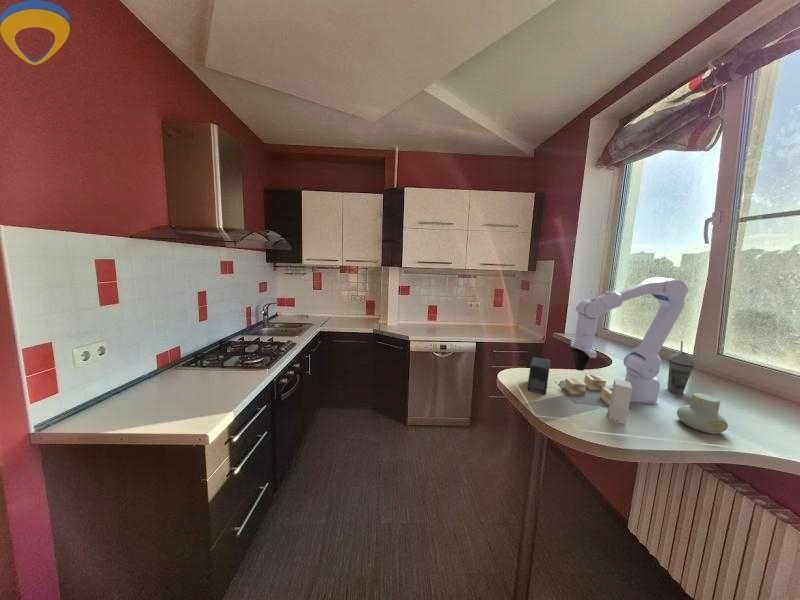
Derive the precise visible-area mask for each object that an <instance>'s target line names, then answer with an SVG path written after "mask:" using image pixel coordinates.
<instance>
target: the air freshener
mask: <svg viewBox="0 0 800 600" xmlns="http://www.w3.org/2000/svg"><path fill="white" fill-rule="evenodd" d="M720 406H721V401H720V400H719V399H718V398H716V397H714V396H712V395H708V394H706V393H701V392H700V393H699V392H694V393H692V396H691V400H690V404H685V405H682V406H679V407H678V408H677V410H676V415H677V418H678V419H679V420H680V421H681V422H682V423H683V424H684V425H686V426H688V427H689V428H691V429H693V430H696V431H699V432H701V433H705V434H714V435H715V434H721V433H723V432H725V431H727V430H728V427H729V425H728V422H727V420H726V419H725V418H724V416H722V415H721V414H720V413H719V410H720Z"/></svg>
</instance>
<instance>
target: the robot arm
mask: <svg viewBox="0 0 800 600" xmlns="http://www.w3.org/2000/svg"><path fill="white" fill-rule="evenodd" d="M685 282H686V281H684V280H682V279H680V278H668V277H661V276H654V277H651V278H647V279H645V280H643V281H641V282H639V283H638V284H635V285H632V286H630V287H628V288H626V289H623V290H620V291H619V292H616V291H613V290H612V291H610V290H607V291H604V293H603V294H601V295H599V296H593V297H591V298H590V300H589V299H584V300H581V301H579V303H578V304H577V306H576V307H575V309H576V312H577V313H578V314H577V315H578V317H577V323H576V328H575V329H576V330H575V335H574V336H575V337H574V339H570V347H572V349H571V353H572V355H573V359H574V367H575V370H576V371H583V372H584V369H585V368H586V366H587V364H588V363H589V360H590V359H592V358H593V359H596V358H597V354H598V353H597V351H595V348H594V341H595V335H596V334H595V333H596V329H597V323H598V318H600V317H601V316H602V315H603V314H604V313H606V312H609V311H611V310H614V309H617V308H620V307H621V306H622V304H623V302H626V301H629V300H631V299H635V298H638V297H641V296H644V295H651V296H652V297H654V298H655V300H656V301H657V302H658V304H659V306H660V307H659V309H658V311H657V312H656V314H655V316H654V318H653V319H652V322H651V324H650V325H649V328H648V329H647V331H646V333H645V334H644V336H643V339H642V341H641V342H640V343H639V345H638V346H636V347H633V348H632V349H631V351H630V352H629V353H627V354H626V355H625V356H624V358H623V364H624V367H625V370H626V372H625V377H624V381H628V382H630V383H631V386H632V388H633V389H632V394H631V399H630V402H636V403H645V404H656V405H659V402H658V398H659V393H660V390H661V389H660V388H661V384H660V380H659V378H657V377H656V376H658V375H659V373H660V366H661V364H662V359H661V357H660V355H659V353H660V351H661V349H662V347H663V345H664V343H665V342H666V340H667V338H668V336H670V335H669V334H670V332H671V331H672V329H673V328H674V326H675V324H676V322H677V320H678V319H679V316H680V314H681V312H683V309H684V307H685V299H686V298H685V297H686V295H687V294H688V292H689V290H690V289H689V287H688V286H687V284H686V283H685Z"/></svg>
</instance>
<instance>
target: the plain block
mask: <svg viewBox="0 0 800 600" xmlns="http://www.w3.org/2000/svg"><path fill="white" fill-rule="evenodd" d="M564 381H565V387H564V388H565V389H566V390H567V391H568V392H569V393H570V394H576V395H585V392H586V386H587V385H586V384H585V383H584V381H583V380H581V379H580V378H572V377H565V380H564Z"/></svg>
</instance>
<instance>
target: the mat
mask: <svg viewBox="0 0 800 600" xmlns="http://www.w3.org/2000/svg"><path fill="white" fill-rule="evenodd" d="M558 387H559V389H561V390H562V392H564V394H565V395H567V396H568V398H569V399H570V400H571V401H572V402H573V403H574V404H577V405H588V406H597V407H606V408H607V407H608V408H609V405H608V404H607V403H606V402H605V401H604V400H603V399H601V398H600V397H601V391H599V390H590V389H589V388H588V387H587V386H586V392H585V395H576V394H570V393H569V392H568V391H567V390H566V389H565V388H564V387H565V380H563V379H562V381H560V383H559V384H558ZM628 410H632V408H631V407H630V406H629V409H628Z"/></svg>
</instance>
